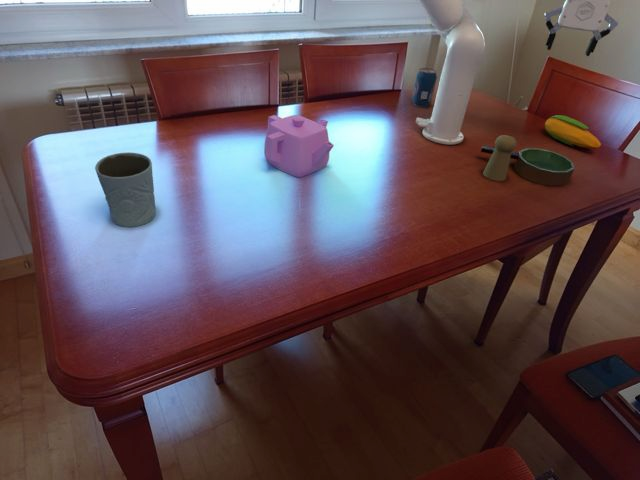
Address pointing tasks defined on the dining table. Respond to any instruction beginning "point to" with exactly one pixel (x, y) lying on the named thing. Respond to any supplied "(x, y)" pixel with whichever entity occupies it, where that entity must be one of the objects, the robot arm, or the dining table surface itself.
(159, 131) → the dining table surface
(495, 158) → the cork
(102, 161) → the gray embossed cup
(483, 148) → the pan
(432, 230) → the dining table surface
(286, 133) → the teakettle
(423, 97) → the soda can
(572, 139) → the corn
